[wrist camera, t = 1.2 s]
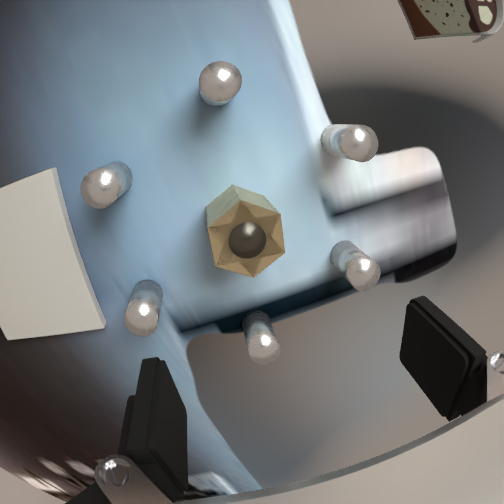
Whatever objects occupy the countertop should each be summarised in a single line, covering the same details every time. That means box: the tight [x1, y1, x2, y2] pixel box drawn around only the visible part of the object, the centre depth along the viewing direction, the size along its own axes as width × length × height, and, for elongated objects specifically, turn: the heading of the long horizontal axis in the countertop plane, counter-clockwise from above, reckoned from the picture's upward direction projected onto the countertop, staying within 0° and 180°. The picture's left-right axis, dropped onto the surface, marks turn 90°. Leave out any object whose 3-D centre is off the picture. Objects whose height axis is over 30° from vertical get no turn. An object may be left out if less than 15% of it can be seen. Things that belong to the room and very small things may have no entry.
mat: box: [0, 167, 106, 340], centre depth 25 cm, size 16×14×1 cm
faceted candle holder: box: [206, 185, 285, 278], centre depth 25 cm, size 6×5×6 cm
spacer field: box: [81, 61, 380, 365], centre depth 25 cm, size 25×22×5 cm
